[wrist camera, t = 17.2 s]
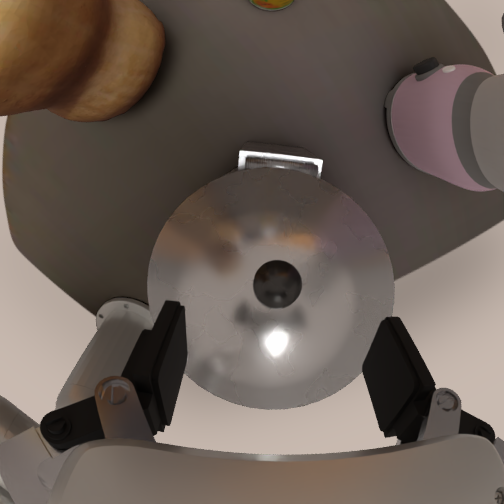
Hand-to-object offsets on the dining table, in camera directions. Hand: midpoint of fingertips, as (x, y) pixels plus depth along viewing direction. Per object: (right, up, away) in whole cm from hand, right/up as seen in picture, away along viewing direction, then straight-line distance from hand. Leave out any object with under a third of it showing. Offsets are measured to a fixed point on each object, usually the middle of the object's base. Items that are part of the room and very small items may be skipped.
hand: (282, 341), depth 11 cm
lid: (0, +2, +6) cm, 7 cm away
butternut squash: (-16, +25, +14) cm, 33 cm away
